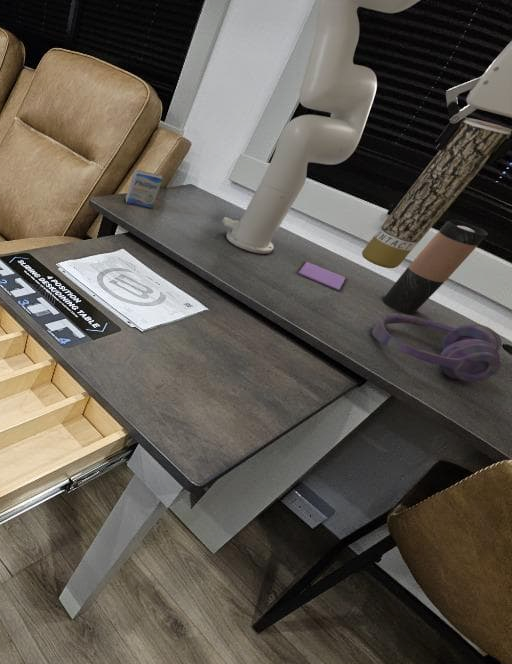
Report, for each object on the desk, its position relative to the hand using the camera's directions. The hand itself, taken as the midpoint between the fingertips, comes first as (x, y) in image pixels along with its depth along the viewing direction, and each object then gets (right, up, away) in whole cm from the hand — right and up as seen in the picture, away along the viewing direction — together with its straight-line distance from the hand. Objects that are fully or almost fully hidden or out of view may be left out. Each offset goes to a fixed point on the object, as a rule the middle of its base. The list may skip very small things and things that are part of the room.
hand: (463, 155), depth 77 cm
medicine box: (-38, +15, +59) cm, 72 cm away
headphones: (+9, -33, +17) cm, 38 cm away
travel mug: (+19, -20, +34) cm, 43 cm away
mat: (+4, -11, +39) cm, 41 cm away
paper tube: (-3, -15, +14) cm, 20 cm away
